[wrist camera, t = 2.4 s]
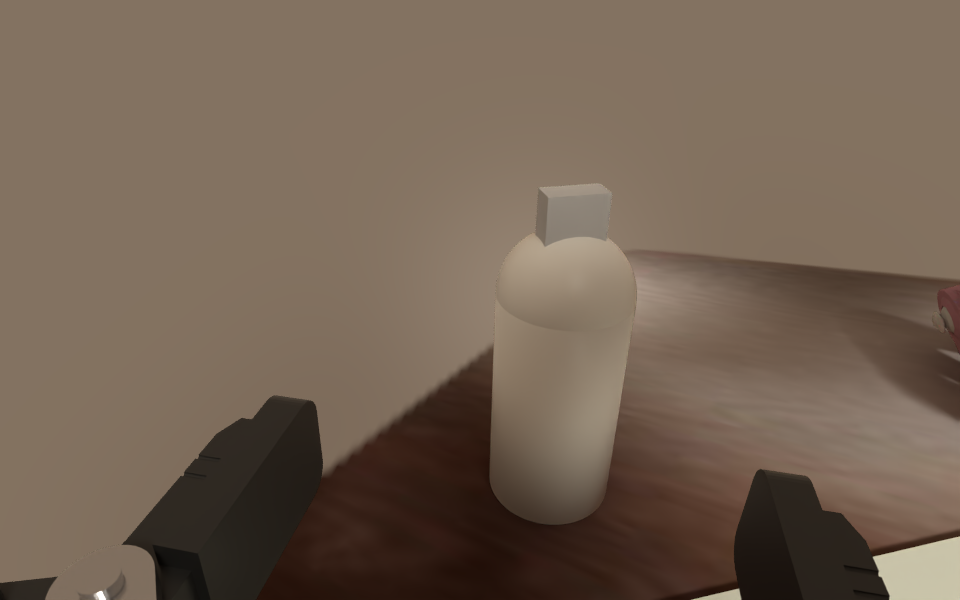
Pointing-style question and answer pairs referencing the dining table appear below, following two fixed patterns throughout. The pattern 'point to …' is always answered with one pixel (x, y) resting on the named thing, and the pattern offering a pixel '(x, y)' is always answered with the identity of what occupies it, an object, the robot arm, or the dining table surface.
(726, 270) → the dining table surface
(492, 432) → the bottle with rectangular cap
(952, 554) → the cream flat board
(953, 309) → the video game controller
